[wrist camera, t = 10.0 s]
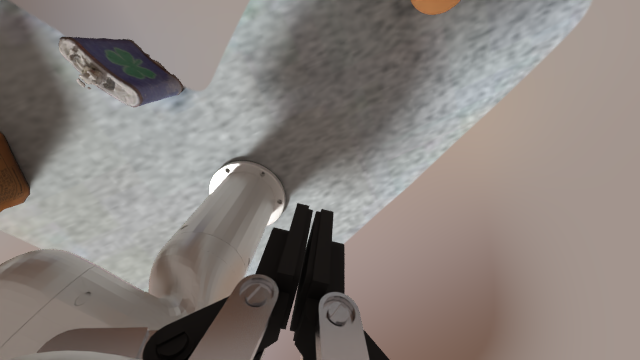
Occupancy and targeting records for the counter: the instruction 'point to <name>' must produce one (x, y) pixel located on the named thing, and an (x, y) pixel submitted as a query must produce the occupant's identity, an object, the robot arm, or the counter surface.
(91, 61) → the flask
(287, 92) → the counter surface
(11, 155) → the pancake mix bag
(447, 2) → the ball
